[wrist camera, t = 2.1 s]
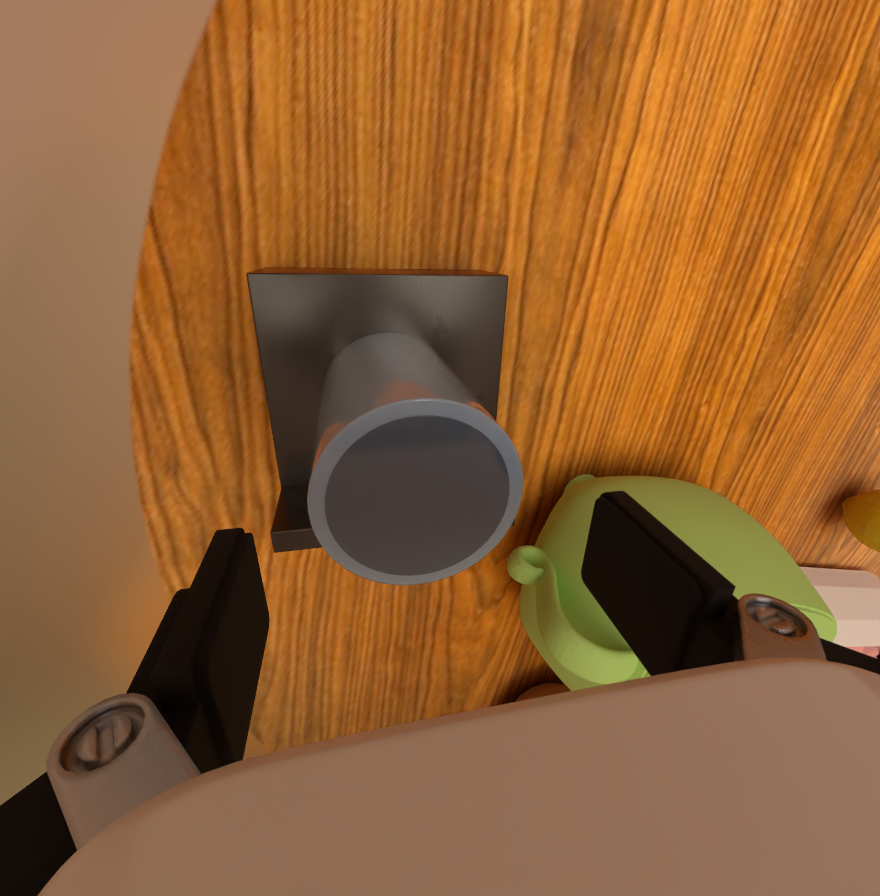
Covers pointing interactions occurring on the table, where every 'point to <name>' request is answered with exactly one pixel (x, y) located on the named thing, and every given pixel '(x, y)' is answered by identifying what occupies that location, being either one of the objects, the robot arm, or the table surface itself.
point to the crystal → (850, 603)
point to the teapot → (692, 520)
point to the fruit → (864, 517)
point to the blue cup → (407, 465)
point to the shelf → (346, 320)
